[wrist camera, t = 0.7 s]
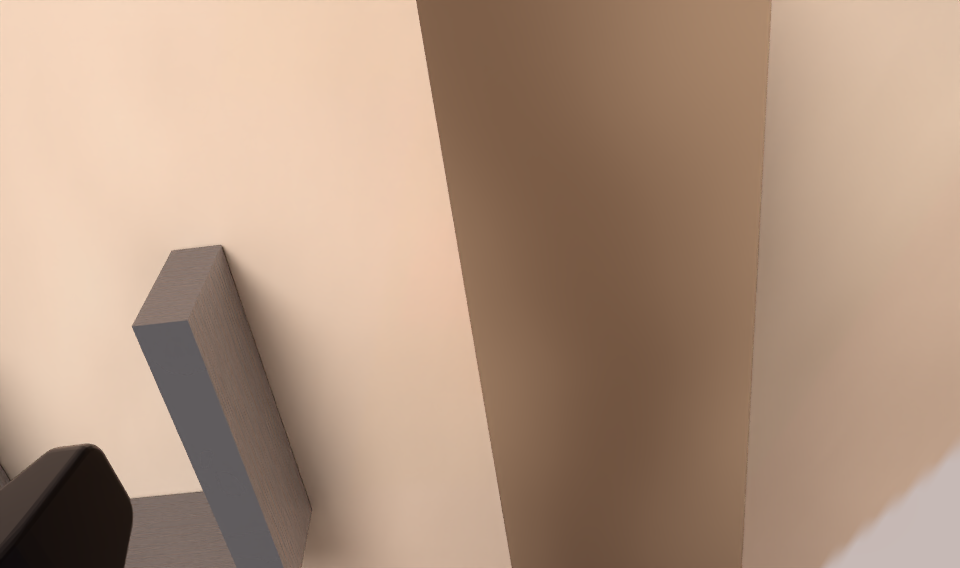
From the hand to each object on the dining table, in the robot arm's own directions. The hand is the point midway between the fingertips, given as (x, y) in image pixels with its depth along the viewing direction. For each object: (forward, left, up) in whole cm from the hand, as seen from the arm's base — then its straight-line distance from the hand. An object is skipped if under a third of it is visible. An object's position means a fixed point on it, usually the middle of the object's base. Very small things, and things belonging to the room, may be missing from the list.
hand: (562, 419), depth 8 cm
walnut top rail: (-1, +3, -12) cm, 13 cm away
